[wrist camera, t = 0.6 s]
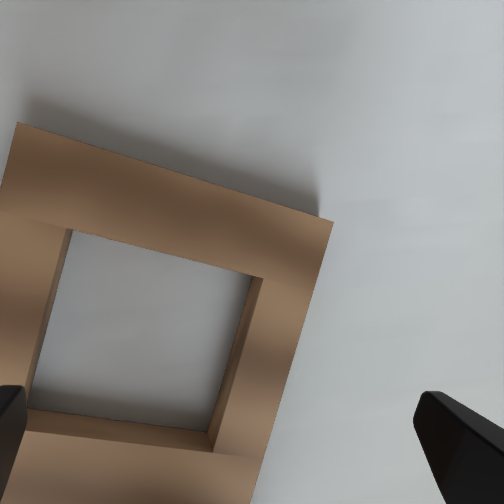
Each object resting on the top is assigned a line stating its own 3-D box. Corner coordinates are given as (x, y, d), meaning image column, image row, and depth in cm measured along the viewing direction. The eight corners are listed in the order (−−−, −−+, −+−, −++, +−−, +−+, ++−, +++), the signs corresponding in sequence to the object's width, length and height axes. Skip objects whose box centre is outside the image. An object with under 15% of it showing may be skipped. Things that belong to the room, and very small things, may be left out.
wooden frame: (218, 557, 25) (224, 587, 23) (-76, 545, 20) (-100, 581, 18) (318, 220, 24) (333, 222, 22) (30, 129, 19) (17, 121, 17)
